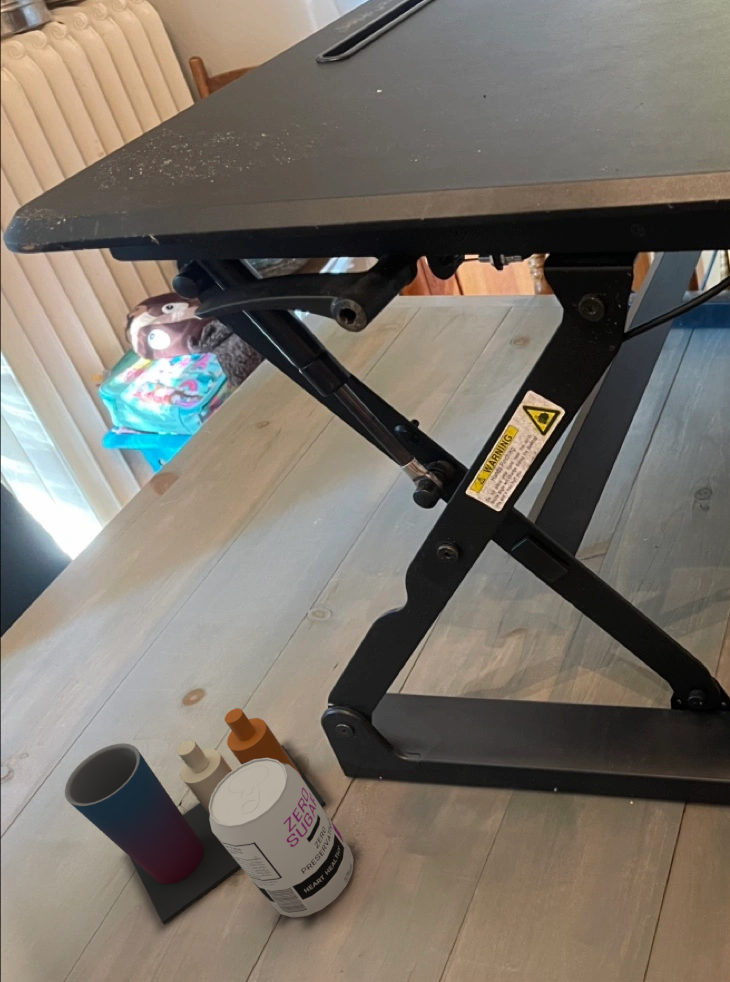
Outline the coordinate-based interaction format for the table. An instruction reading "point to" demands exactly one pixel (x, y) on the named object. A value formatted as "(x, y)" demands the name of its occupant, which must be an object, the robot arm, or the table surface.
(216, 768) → the cream bottle
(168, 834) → the cup
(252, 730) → the amber bottle
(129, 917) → the table surface
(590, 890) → the table surface
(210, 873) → the mat
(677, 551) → the table surface
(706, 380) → the table surface
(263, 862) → the supplement can
